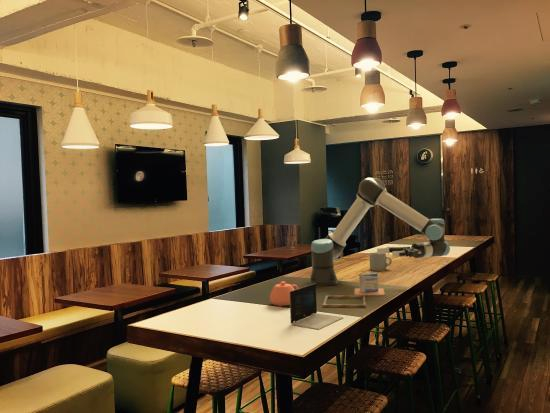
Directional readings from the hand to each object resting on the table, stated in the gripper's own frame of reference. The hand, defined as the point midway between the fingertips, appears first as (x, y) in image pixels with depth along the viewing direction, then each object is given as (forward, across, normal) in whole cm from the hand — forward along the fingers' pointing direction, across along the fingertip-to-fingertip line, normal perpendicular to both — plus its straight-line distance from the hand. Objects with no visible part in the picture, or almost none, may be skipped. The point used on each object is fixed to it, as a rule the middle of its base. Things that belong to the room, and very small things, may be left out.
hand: (384, 252), depth 226 cm
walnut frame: (+30, -14, -18) cm, 38 cm away
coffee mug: (-30, +52, -19) cm, 63 cm away
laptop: (+53, -37, -19) cm, 67 cm away
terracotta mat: (+10, -2, -18) cm, 21 cm away
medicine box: (+10, -1, -18) cm, 21 cm away
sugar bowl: (+54, -5, -19) cm, 58 cm away
